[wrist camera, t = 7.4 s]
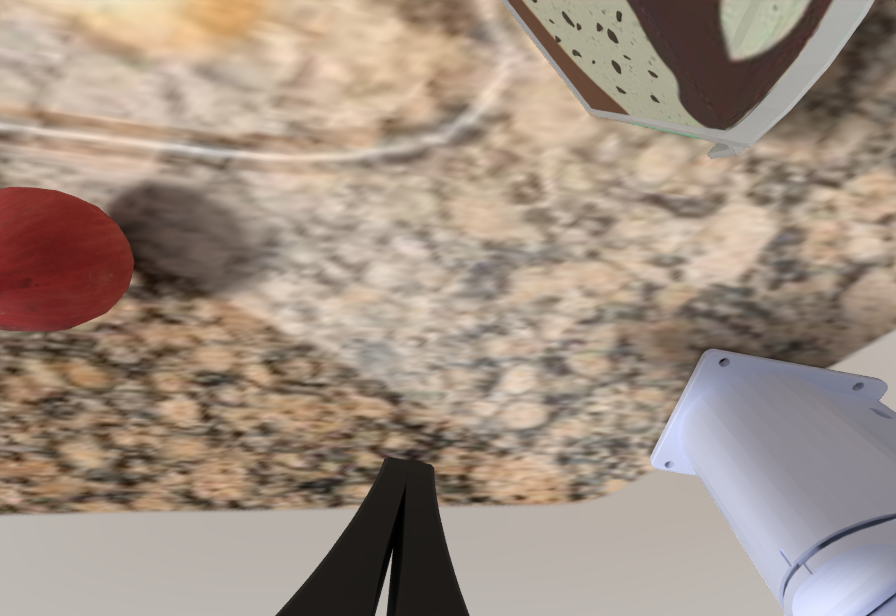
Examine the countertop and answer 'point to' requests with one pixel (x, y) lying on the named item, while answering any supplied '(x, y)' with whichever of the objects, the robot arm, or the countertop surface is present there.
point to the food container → (691, 59)
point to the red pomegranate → (58, 260)
